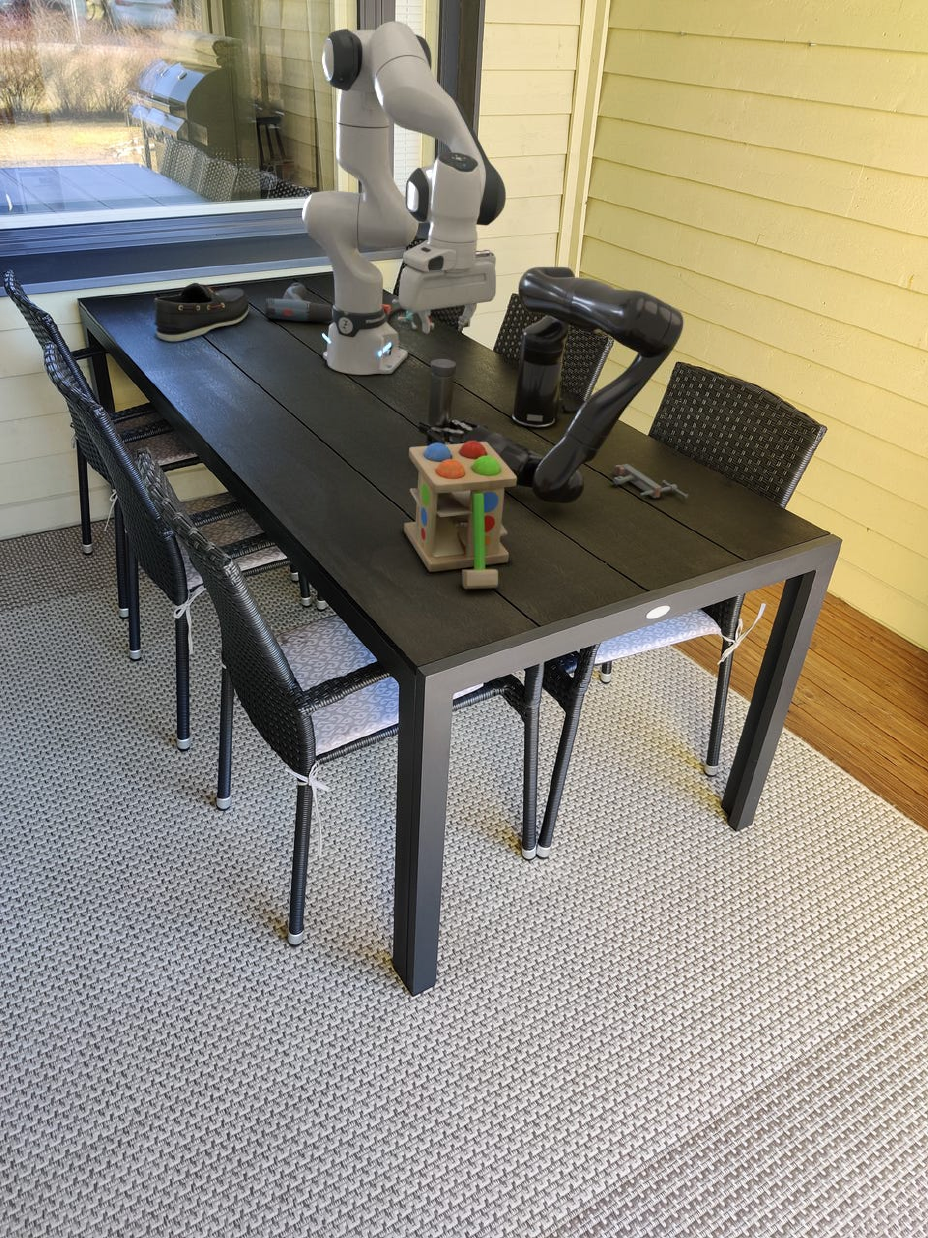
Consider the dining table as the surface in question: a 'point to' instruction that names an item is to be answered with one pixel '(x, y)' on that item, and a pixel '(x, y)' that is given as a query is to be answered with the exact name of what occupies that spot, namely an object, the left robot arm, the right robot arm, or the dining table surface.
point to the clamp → (624, 475)
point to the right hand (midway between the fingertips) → (429, 423)
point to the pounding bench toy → (460, 509)
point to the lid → (443, 367)
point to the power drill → (297, 306)
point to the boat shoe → (198, 311)
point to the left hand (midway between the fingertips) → (446, 329)
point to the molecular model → (408, 316)
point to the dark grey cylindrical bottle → (440, 401)
